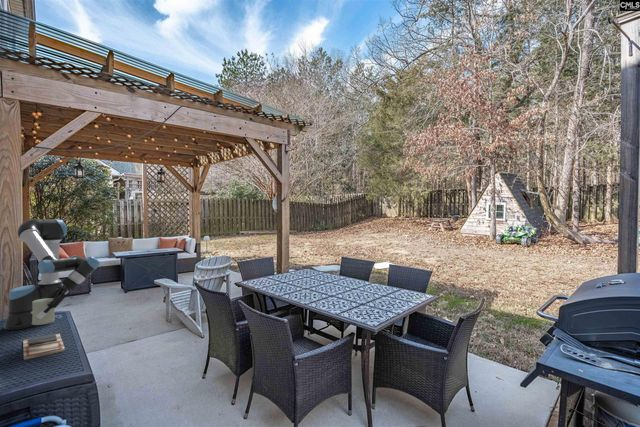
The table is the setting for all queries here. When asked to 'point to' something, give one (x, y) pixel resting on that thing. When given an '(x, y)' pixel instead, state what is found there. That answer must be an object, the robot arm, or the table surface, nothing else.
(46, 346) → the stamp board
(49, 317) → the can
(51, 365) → the table surface
